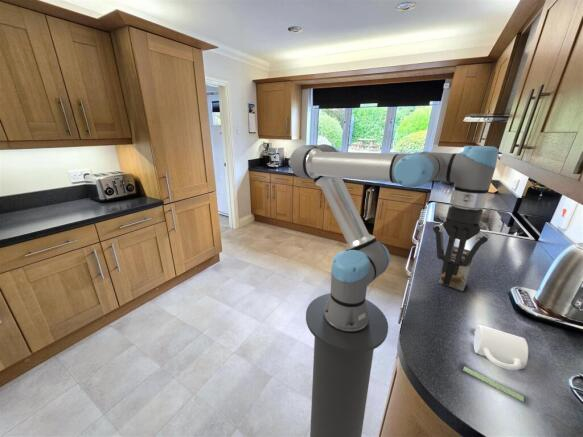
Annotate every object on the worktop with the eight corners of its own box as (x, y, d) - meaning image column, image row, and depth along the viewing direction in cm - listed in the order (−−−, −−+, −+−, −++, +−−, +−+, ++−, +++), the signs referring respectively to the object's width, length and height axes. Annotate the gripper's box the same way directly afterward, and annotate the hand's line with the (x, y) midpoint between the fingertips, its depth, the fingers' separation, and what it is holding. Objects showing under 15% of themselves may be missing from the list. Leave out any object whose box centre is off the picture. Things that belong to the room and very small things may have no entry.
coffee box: (438, 283, 105) (445, 249, 100) (441, 277, 109) (449, 244, 104) (463, 291, 99) (472, 256, 94) (466, 285, 103) (475, 251, 98)
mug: (472, 340, 75) (478, 318, 72) (514, 353, 70) (522, 331, 68) (477, 370, 65) (484, 346, 63) (526, 388, 60) (536, 364, 58)
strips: (463, 370, 65) (463, 369, 65) (474, 330, 79) (474, 330, 78) (523, 402, 57) (523, 401, 57) (523, 351, 71) (524, 351, 71)
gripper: (435, 204, 66) (419, 279, 73) (496, 214, 58) (471, 298, 65) (441, 199, 71) (426, 270, 79) (498, 208, 63) (475, 286, 70)
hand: (446, 282), depth 72 cm, fingers closed
